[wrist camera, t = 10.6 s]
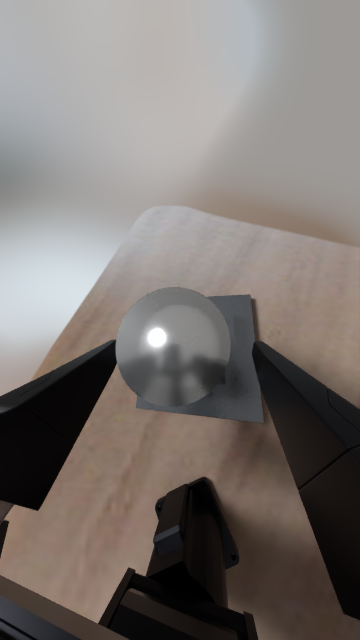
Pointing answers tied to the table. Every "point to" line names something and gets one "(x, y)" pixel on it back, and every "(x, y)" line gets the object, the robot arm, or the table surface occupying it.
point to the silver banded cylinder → (173, 346)
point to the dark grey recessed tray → (229, 371)
